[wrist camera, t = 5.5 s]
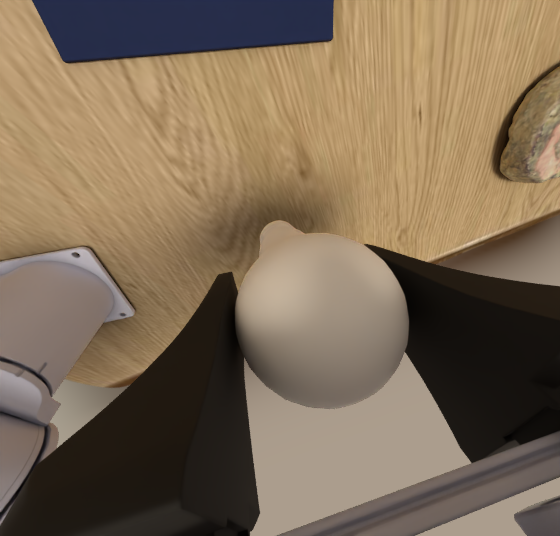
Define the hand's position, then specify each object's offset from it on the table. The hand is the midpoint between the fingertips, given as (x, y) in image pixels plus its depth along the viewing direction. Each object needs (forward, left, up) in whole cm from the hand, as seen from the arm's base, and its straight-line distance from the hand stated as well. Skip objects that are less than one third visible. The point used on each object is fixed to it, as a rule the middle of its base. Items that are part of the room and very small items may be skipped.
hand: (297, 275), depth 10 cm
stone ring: (+29, -1, -9) cm, 30 cm away
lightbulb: (0, 0, -6) cm, 6 cm away
